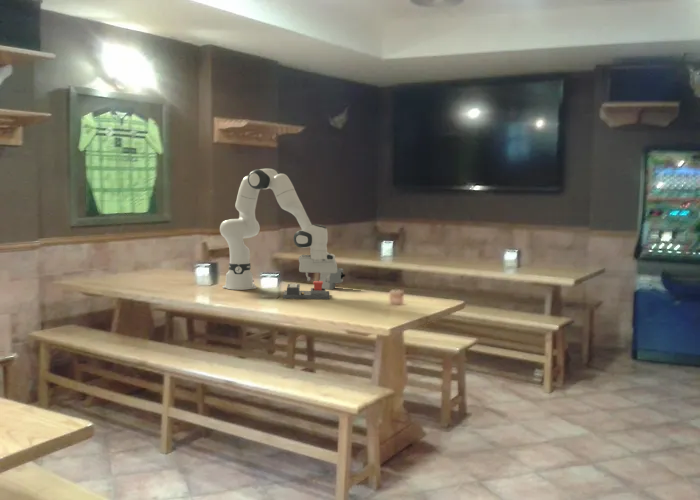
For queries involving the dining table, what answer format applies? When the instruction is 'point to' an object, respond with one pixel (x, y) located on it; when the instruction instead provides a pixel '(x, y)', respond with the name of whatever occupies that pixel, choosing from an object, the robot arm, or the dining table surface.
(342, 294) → the dining table surface
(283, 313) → the dining table surface
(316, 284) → the lockout cap
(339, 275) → the circuit breaker
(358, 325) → the dining table surface
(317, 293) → the breaker panel
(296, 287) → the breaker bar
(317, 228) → the robot arm
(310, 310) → the dining table surface
